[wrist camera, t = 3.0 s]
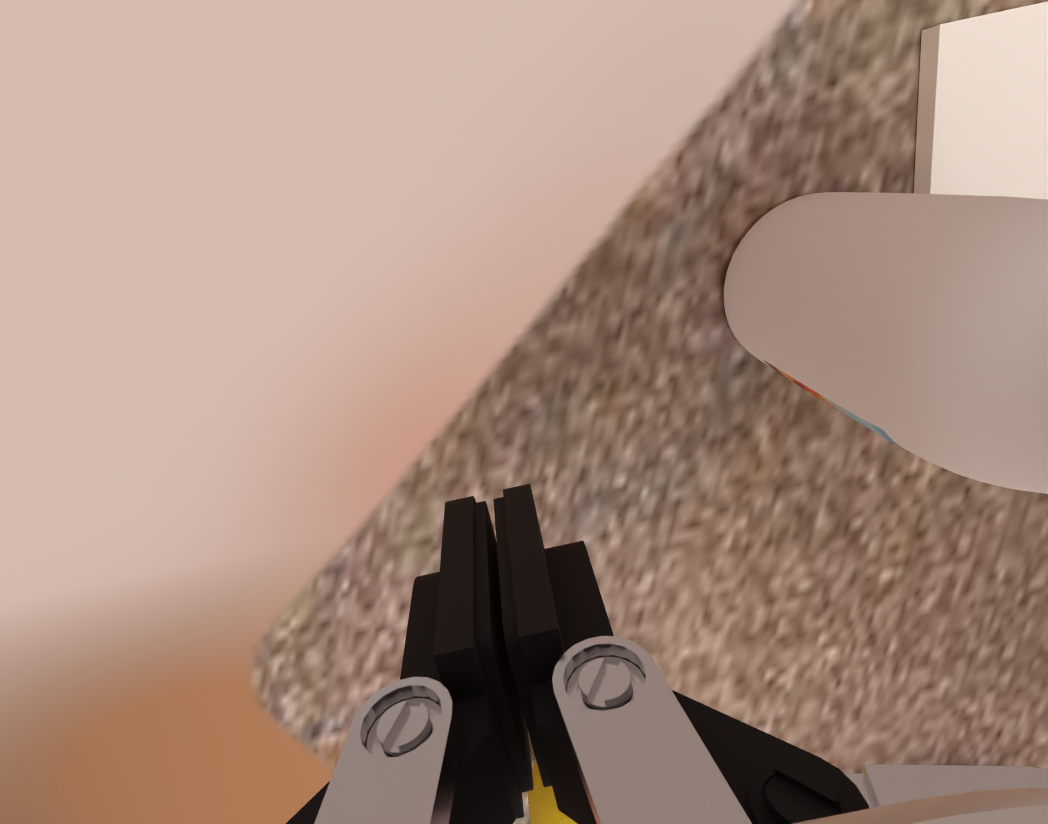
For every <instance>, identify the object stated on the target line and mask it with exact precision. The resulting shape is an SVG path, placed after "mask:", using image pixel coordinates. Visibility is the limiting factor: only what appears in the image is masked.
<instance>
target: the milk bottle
mask: <svg viewBox="0 0 1048 824" xmlns="http://www.w3.org/2000/svg"><path fill="white" fill-rule="evenodd" d="M724 308H725V313H726V317H727V321H728V324H729V326H730V329H731V331H732V332H733V334H734V336H735V338H736V339H737V340H738V342H739V343H740V344H741V345H742V346H743V348H744V349H746V350H747V351H748V352H749V353H750V354H752V355H753V356H754V357H756V358H757V359H759V360H760V361H761V362H763V363H764V364H766V365H767V366H769V367H770V368H772V369H774V370H775V371H777V372H778V373H780V374H781V375H783V376H785V377H786V378H788V379H789V380H791V381H792V382H794V383H796V384H797V385H799V386H800V387H802V388H804V389H805V390H807V391H808V392H810V393H812V394H813V395H815V396H816V397H818V398H820V399H821V400H823V401H824V402H826V403H828V404H829V405H831V406H832V407H834V408H836V409H837V410H839V411H841V412H842V413H844V414H846V415H847V416H849V417H851V418H852V419H854V420H855V421H857V422H859V423H860V424H862V425H864V426H865V427H867V428H869V429H870V430H872V431H873V432H875V433H877V434H878V435H880V436H882V437H884V438H886V439H887V440H889V441H891V442H893V443H895V444H896V445H898V446H900V447H902V448H904V449H906V450H907V451H909V452H911V453H913V454H915V455H916V456H918V457H920V458H922V459H924V460H925V461H928V462H930V463H932V464H935V465H937V466H939V467H942V468H944V469H946V470H949V471H951V472H954V473H956V474H959V475H961V476H964V477H968V478H971V479H974V480H977V481H981V482H984V483H988V484H991V485H996V486H1001V487H1006V488H1010V489H1016V490H1022V491H1029V492H1038V493H1046V494H1048V200H1047V199H1034V198H1020V197H1005V196H977V195H949V194H914V193H870V192H823V193H812V194H807V195H802V196H799V197H796V198H793V199H791V200H788V201H786V202H784V203H782V204H780V205H779V206H777V207H775V208H774V209H772V210H771V211H769V212H768V213H767V214H765V215H764V216H763V217H762V218H761V219H760V220H758V221H757V222H756V223H755V224H754V225H753V227H752V228H751V229H750V230H749V231H748V232H747V234H746V235H745V236H744V237H743V239H742V240H741V242H740V244H739V245H738V247H737V249H736V250H735V252H734V254H733V256H732V259H731V262H730V264H729V267H728V270H727V274H726V279H725V285H724Z"/></svg>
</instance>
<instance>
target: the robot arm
mask: <svg viewBox="0 0 1048 824" xmlns="http://www.w3.org/2000/svg"><path fill="white" fill-rule="evenodd" d="M503 495H504V497H501V498H497V499H494V511H495V525H496V538H497V542H496V538H495V534H494V530H493V526H492V522H491V519H490V515H489V511H488V507H487V504H486V501H483V502H478V503H476V501H475V498H474V496H471V497H467V498H462V499H457V500H453V501H448V502H446V503H445V512H444V525H443V537H442V550H441V563H440V572H437V573H432V574H427V575H423V576H418V577H416V578H415V581H414V585H413V592H412V599H411V606H410V613H409V620H408V627H407V634H406V641H405V648H404V655H403V663H402V670H401V677H400V680H398V681H396V682H394V683H392V684H389V685H387V686H385V687H383V688H382V689H381V690H379V691H378V692H377V693H375V694H374V695H373V696H371V697H370V698H369V699H368V700H367V702H366V703H365V704H364V705H363V706H362V707H361V708H360V709H359V711H358V713H357V715H356V717H355V719H354V721H353V722H352V725H351V727H350V730H349V732H348V735H347V738H346V740H345V743H344V746H343V748H342V751H341V754H340V756H339V759H338V762H337V764H336V767H335V770H334V772H333V775H332V778H331V780H330V781H329V782H328V783H327V784H326V785H325V786H324V787H323V788H322V789H321V790H320V791H319V792H318V793H317V794H316V795H315V796H314V797H313V798H312V799H311V800H310V801H309V802H308V803H307V804H306V805H305V806H304V807H303V808H301V809H300V811H298V812H297V813H296V814H295V815H294V816H293V817H292V818H291V819H290V820H289V821H288V822H287V823H286V824H513V822H514V821H515V820H516V819H517V818H521V817H524V812H523V800H522V792H526V791H531V790H533V775H532V765H531V756H530V746H529V737H528V732H529V735H530V739H531V743H532V746H533V750H534V754H535V757H536V761H537V765H538V769H539V772H540V776H541V780H542V783H543V786H544V788H545V787H549V786H552V788H553V792H554V795H555V799H556V803H557V807H558V810H559V811H560V812H562V813H563V814H565V815H566V816H568V817H569V818H570V819H572V820H573V821H575V822H576V823H578V824H1048V769H1042V768H1036V767H1029V766H958V765H880V764H864V774H859V773H843V772H842V771H841V770H840V769H838V768H836V767H835V766H833V765H831V764H830V763H828V762H826V761H825V760H823V759H821V758H820V757H818V756H815V755H813V754H811V753H809V752H807V751H804V750H802V749H800V748H798V747H796V746H793V745H791V744H789V743H787V742H785V741H782V740H780V739H778V738H776V737H774V736H772V735H769V734H767V733H765V732H763V731H761V730H758V729H756V728H754V727H752V726H750V725H747V724H745V723H743V722H741V721H739V720H736V719H734V718H732V717H730V716H728V715H726V714H723V713H721V712H719V711H717V710H715V709H712V708H710V707H708V706H706V705H704V704H701V703H699V702H697V701H695V700H693V699H690V698H688V697H686V696H684V695H682V694H679V693H677V692H675V691H673V690H671V688H670V687H669V685H668V683H667V682H666V680H665V678H664V677H663V675H662V674H661V672H660V670H659V669H658V667H657V665H656V664H655V662H654V660H653V659H652V657H651V656H650V655H649V654H648V653H647V651H646V650H645V649H644V648H643V647H641V646H640V645H638V644H636V643H635V642H633V641H631V640H628V639H625V638H621V637H617V636H614V635H613V632H612V629H611V626H610V623H609V619H608V616H607V613H606V610H605V607H604V604H603V600H602V597H601V594H600V591H599V588H598V585H597V581H596V578H595V575H594V572H593V569H592V566H591V562H590V559H589V556H588V553H587V550H586V547H585V544H584V541H579V542H575V543H570V544H566V545H561V546H556V547H552V548H547V549H544V545H543V540H542V536H541V531H540V527H539V522H538V517H537V513H536V508H535V504H534V499H533V495H532V490H531V486H530V484H527V485H522V486H517V487H513V488H508V489H504V490H503Z"/></svg>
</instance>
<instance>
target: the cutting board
mask: <svg viewBox="0 0 1048 824" xmlns="http://www.w3.org/2000/svg"><path fill="white" fill-rule="evenodd" d="M914 194H949V195H977V196H1005V197H1020V198H1034V199H1047V200H1048V2H1043V3H1038V4H1034V5H1029V6H1024V7H1019V8H1015V9H1010V10H1005V11H1001V12H996V13H991V14H987V15H982V16H977V17H973V18H968V19H963V20H959V21H954V22H949V23H944V24H940V25H937V26H934V27H931V28H928V29H926V30H923V31H922V34H921V55H920V75H919V95H918V116H917V136H916V156H915V177H914Z"/></svg>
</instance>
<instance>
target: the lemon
mask: <svg viewBox="0 0 1048 824" xmlns="http://www.w3.org/2000/svg"><path fill="white" fill-rule="evenodd" d="M532 775H533V790H531V791H528V804H529V814H530V821H531V824H578V823H576V822H575V821H573V820H572V819H570V818H569V817H568V816H566V815H565V814H563V813H562V812H560V811H559V810H558V807H557V803H556V799H555V795H554V792H553V788H552V786H549V787H545V788H544V786H543V783H542V780H541V776H540V772H539V769H538V765H537V761H536V762H535V764H534V767H533V770H532Z"/></svg>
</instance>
